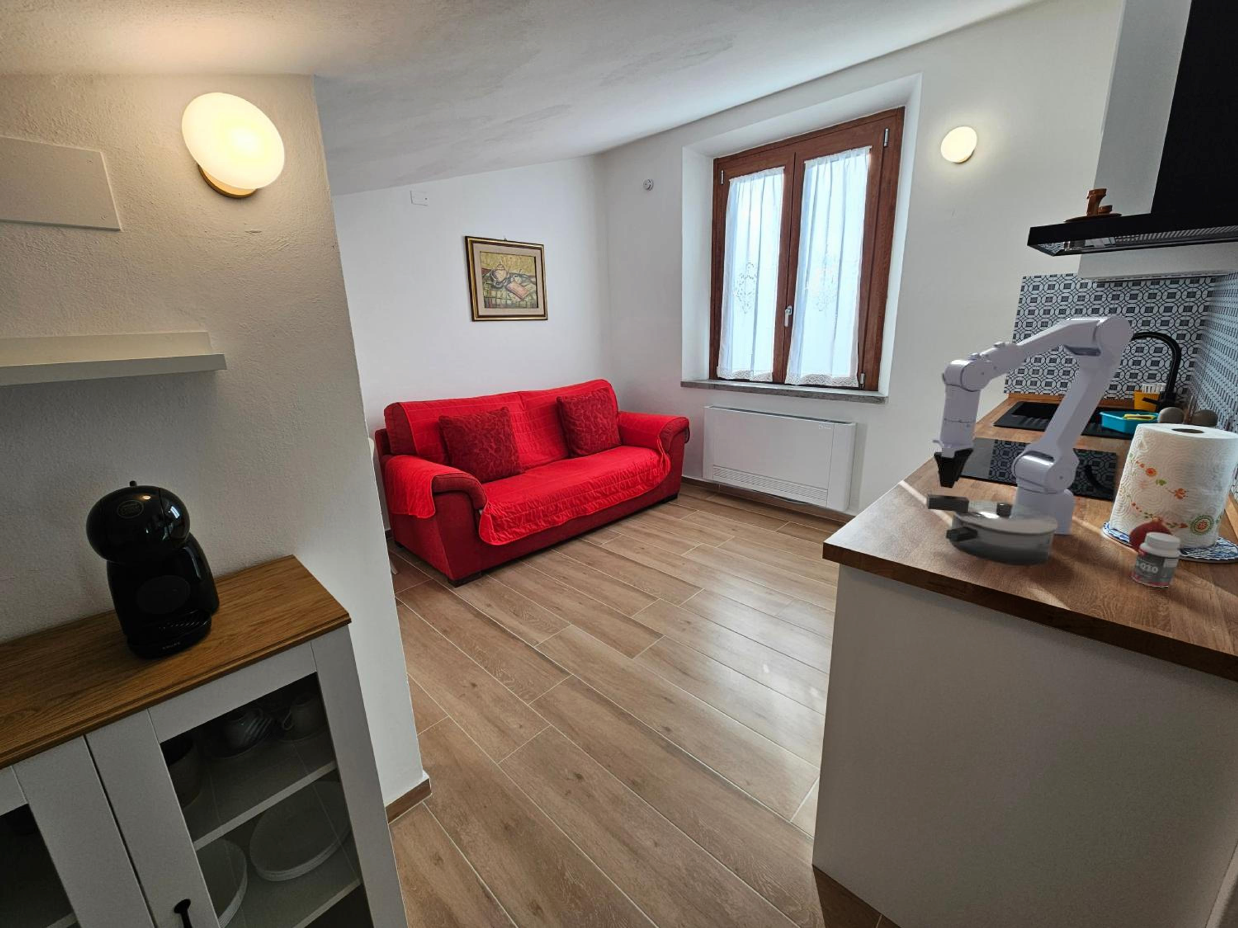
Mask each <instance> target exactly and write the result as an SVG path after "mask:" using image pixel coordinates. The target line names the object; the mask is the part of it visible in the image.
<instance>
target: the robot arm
mask: <svg viewBox="0 0 1238 928" xmlns="http://www.w3.org/2000/svg"><path fill="white" fill-rule="evenodd" d="M1132 329H1133V328H1131V324H1130V323H1129V320H1128V319H1127V318H1126V317H1124V316H1122V315H1109V316H1081V315H1074V316H1071V317H1069V318H1067V319H1063V320H1060V321H1057V322H1056V324H1055V325H1053V326H1050V327H1049V328H1046V329H1044V330H1042V331H1041V332H1038V333H1036V334H1033V335H1032V336H1030V337H1027V338H1026V339H1023V340H1022V341H1019V342H1017V343H1014V342H1010V341H997V342H995V343H993V347H991V348H988V349H986V350H984V351H981V352H974V353H971V354H970V356H969V357H968V359H960V358H959V359H954V360H953V361H951V362H950V363H949V364H948V365H947V366H946V368H945V370H944V372H942V373H941V380H942V382H943V383H942V384H944V387H945V391H944V393H946V394H945V399H944V406H943V414H942V420H941V421H942V422H941V429H940V435H939V437H934V438H933V439H932V443H934V444H938V445H939V446H940V448H941V451H935V452H934V453H933V458H934V461H935V462H936V465H937V468H938V469H937V470H938V478H939V486H940V487H941V488H946V489H953V487H954V485H955V483H958V482H959V480H960V477H961V476H962V473H963V471H964V468H965V465H966V463H967V461H968V459H969V458H970V456H971V455H972V454H973V452H974V451H975V448H973V447H974V441H973V440H974V434H975V428H976V423H977V422H976V421H977V416H978V410H979V404H980V397H981V390H983V389H985V388H986V387H987V386H988V385H989V383H990V381H992V380H993V379H997V378H999V377H1001V376H1003V375H1006V374H1008V373H1010V372H1013V371H1015V370H1018V369H1020V368H1021V367H1022V365H1023V364H1024V360H1027V359H1029V358H1032V357H1034V356H1037V355H1039V354H1043V353H1045V352H1048V351H1051V350H1053V349H1056V348H1059V347H1063V349H1064V350H1065V351H1066V353H1068V354H1069V355H1070V356H1071V357H1072V358H1073V359H1074V360H1075V361H1076V362H1077V364H1078V366H1079V369H1078V371H1077V372H1076V375H1075V376H1074V378H1073V380H1072V382H1071V384H1070V385H1069V387H1068V389H1067V391H1066V393H1065V394H1064V396H1063V398H1062V400H1061V402H1060V404H1059V405H1058V407H1057V409H1056V411H1055V412H1054V414H1053V415H1052V416H1053V417H1052V418H1051V420H1050V422H1049V424H1048V425H1047V427H1046V429H1045V430H1044V432H1043V435H1042V436H1041V438H1040V439H1038V440H1035V441H1033V442H1031V443H1029V444H1027V445H1026V447H1025V448H1024V449H1023V451H1022V452H1021V453H1020V454H1019V455H1018V456H1016V457H1015V459H1014V460H1013V462H1012V464H1011V473H1012V475H1013V476H1014V477H1015V478H1016V480H1015V484H1017V487H1016V492H1015V498H1014V503H1013V504H1016V505H1021V506H1025V507H1029V508H1032V509H1036V510H1038V511H1041V512H1044V513H1046V514H1048V515H1050V516H1052V517H1053V518H1055V519H1056V520H1057V522H1058V526H1057V529H1056V531H1054V535H1069V536H1070V535H1072V532H1071V531H1070V529H1071V524H1072V520H1073V516H1074V511H1075V507H1076V506H1075V504H1076V502H1075V496H1074V493H1073V492H1072V491H1071V490H1069V489H1068V488H1069V487H1071V486H1072V484H1073V483H1074V480H1075V477H1076V470H1077V467H1078V465H1079V464H1080V460H1079V458H1078V456H1077V454H1076V453H1075V451H1074V447H1075V445H1076V443H1077V442H1078V440H1079V438H1080V437H1081V435H1082V433H1083V431H1084V430H1085V428H1086V426H1087V424H1088V422H1089V421H1090V419H1091V417H1092V415H1093V414H1094V412H1095V410H1096V408H1097V407H1098V405H1099V403H1100V402H1101V399H1102V398H1103V396H1105V395H1104V394H1105V393H1106V391H1107V389H1108V387H1109V386H1110V384H1111V383H1112V381H1113V379H1114V377H1115V375H1116V374H1117V372H1118V370H1119V369H1120V366H1121V362H1122V358H1123V354H1124V352H1125V350H1126V349H1127V347H1128V345H1129V343H1130V342H1131V340H1132V338H1133V336H1134V332H1133V330H1132ZM1049 457H1050V458H1049ZM1051 457H1052V458H1051Z"/></svg>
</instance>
